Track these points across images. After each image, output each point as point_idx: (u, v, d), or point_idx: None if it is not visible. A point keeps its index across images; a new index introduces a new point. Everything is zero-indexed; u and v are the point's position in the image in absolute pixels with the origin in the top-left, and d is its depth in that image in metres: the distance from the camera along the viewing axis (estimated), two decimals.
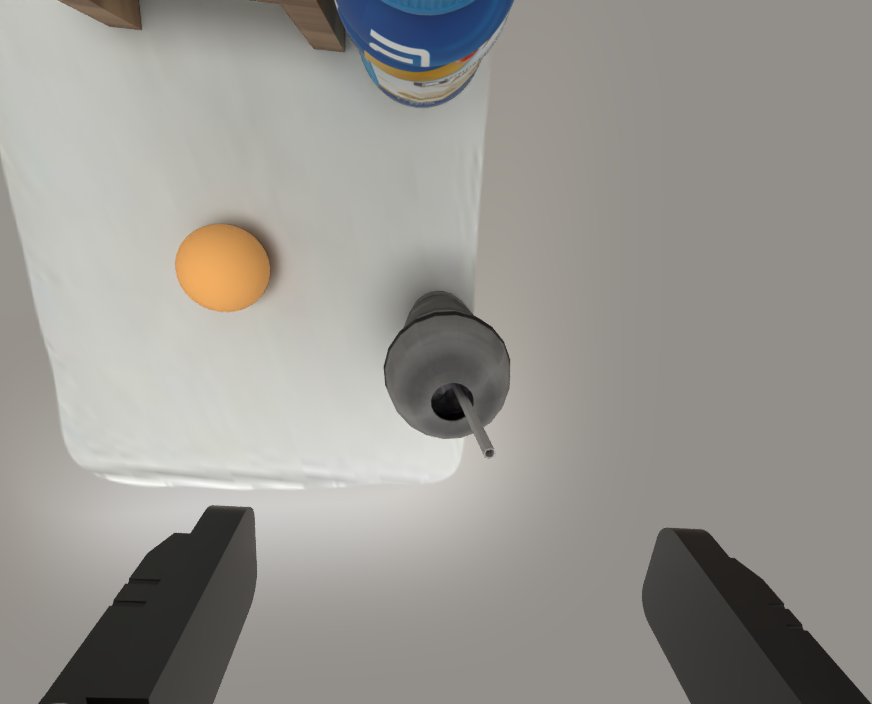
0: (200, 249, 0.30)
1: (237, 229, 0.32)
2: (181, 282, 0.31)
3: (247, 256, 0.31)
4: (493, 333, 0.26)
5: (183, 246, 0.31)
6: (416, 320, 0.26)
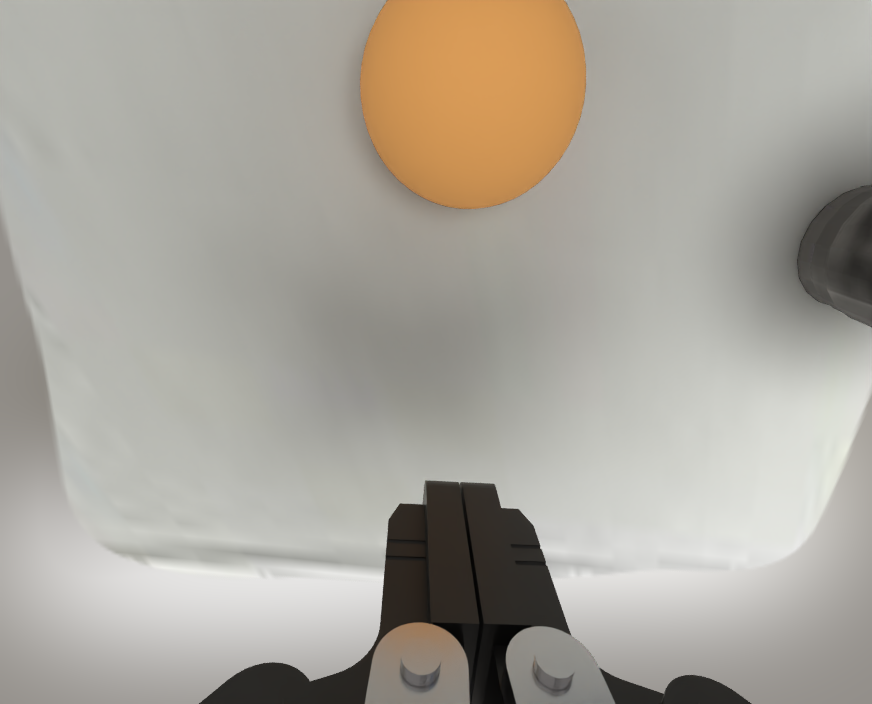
0: None
1: None
2: (391, 105, 0.11)
3: (575, 33, 0.11)
4: None
5: None
6: None
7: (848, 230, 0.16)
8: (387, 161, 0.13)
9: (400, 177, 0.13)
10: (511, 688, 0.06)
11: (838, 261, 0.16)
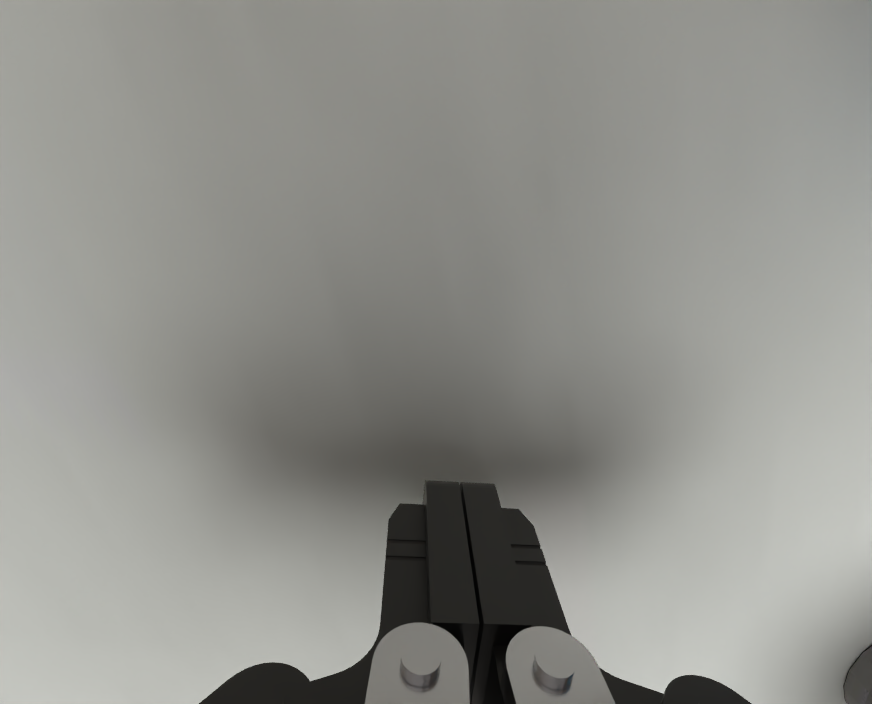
0: None
1: None
2: None
3: None
4: None
5: None
6: None
7: None
8: None
9: None
10: (511, 688, 0.06)
11: None
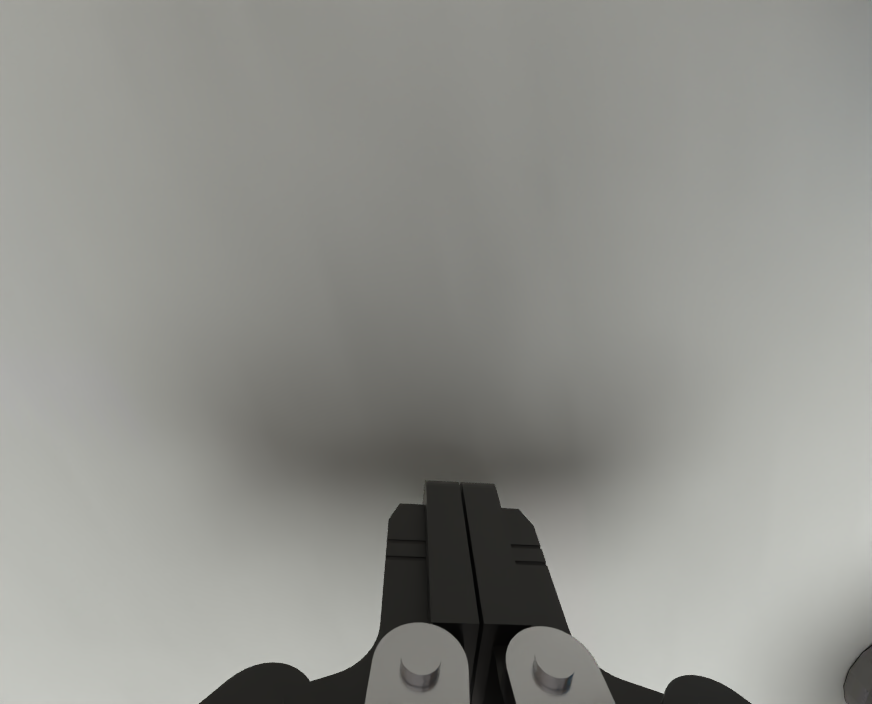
0: None
1: None
2: None
3: None
4: None
5: None
6: None
7: None
8: None
9: None
10: (511, 688, 0.06)
11: None
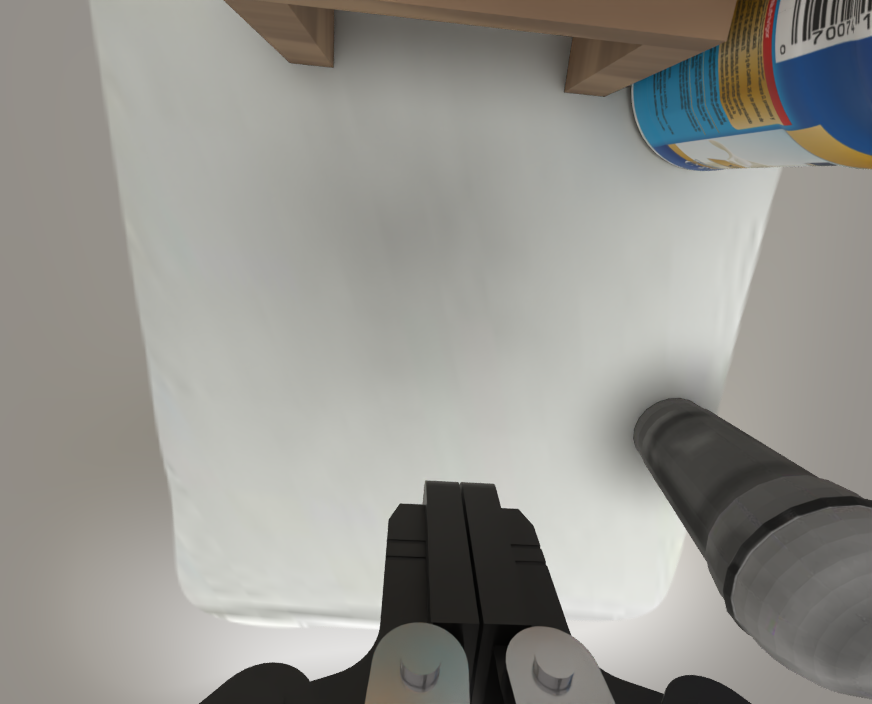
0: None
1: None
2: None
3: None
4: None
5: None
6: (795, 510, 0.18)
7: (649, 435, 0.27)
8: None
9: None
10: (511, 688, 0.06)
11: (645, 451, 0.28)
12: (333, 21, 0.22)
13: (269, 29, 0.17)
